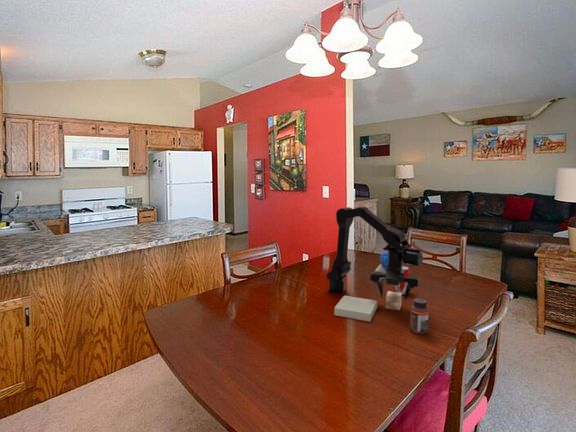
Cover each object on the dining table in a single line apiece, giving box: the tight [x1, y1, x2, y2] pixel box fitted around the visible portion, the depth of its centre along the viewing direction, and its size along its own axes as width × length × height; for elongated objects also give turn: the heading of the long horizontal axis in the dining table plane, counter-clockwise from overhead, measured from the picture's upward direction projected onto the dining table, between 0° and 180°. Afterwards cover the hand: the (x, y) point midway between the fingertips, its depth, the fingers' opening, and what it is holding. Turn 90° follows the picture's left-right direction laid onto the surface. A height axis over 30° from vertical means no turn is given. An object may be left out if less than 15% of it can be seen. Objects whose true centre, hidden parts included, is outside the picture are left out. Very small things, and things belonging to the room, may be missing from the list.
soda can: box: [392, 265, 411, 296], centre depth 153 cm, size 7×7×12 cm
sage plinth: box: [333, 295, 378, 323], centre depth 134 cm, size 14×14×3 cm
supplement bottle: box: [409, 298, 430, 335], centre depth 117 cm, size 6×6×11 cm
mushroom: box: [374, 252, 388, 275], centre depth 177 cm, size 14×14×15 cm
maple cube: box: [385, 290, 403, 311], centre depth 138 cm, size 6×6×6 cm
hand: (393, 298), depth 138 cm, fingers open, 9 cm apart
